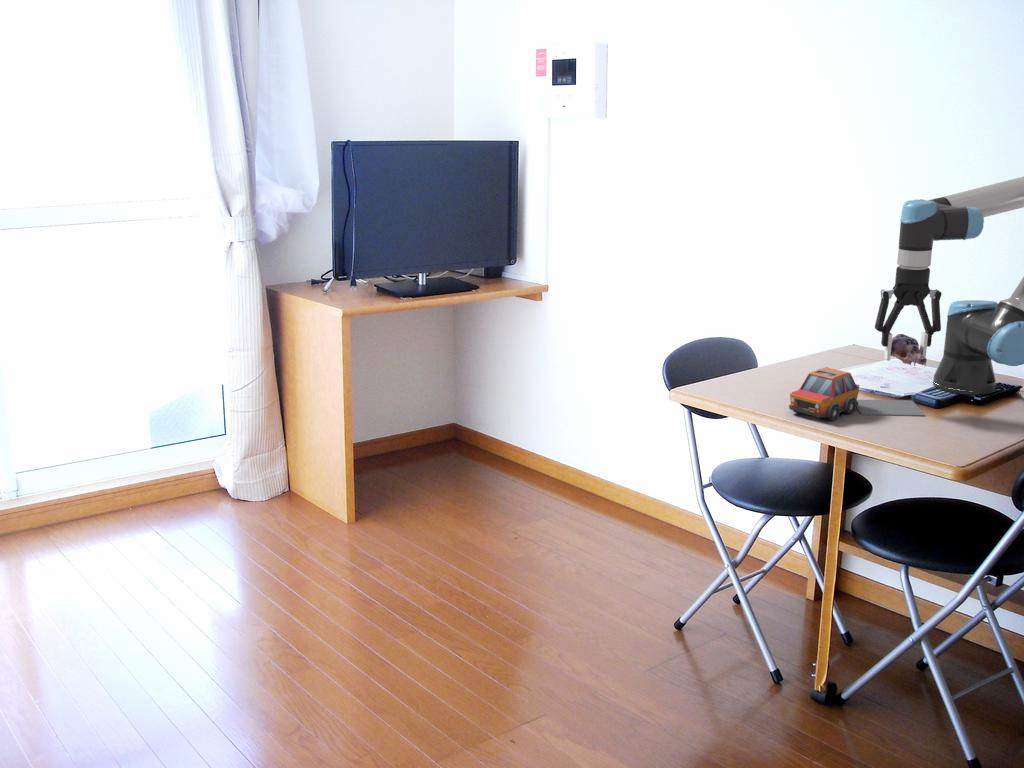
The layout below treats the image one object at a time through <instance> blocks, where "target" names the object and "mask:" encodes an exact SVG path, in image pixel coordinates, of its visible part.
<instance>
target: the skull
mask: <svg viewBox="0 0 1024 768" xmlns="http://www.w3.org/2000/svg"><path fill="white" fill-rule="evenodd" d="M891 357H893V358H897V359H898V360H900V361H901V362H902V364H905V365H910V366H912V364H913V366H914V367H916V364H917V365H921V366H922V367H923V366H924V367H926V366H927V360H928V359H927V357H926V358H925V357H924V356H923V355H922V354H921V351H920V343H919V342H918V340H917V339H916V338H914V337H911V336H908V335H906V334H904V333H898V334H896V335H895V336H892V346H891Z"/></svg>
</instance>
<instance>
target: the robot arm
mask: <svg viewBox="0 0 1024 768" xmlns="http://www.w3.org/2000/svg"><path fill="white" fill-rule="evenodd" d="M1022 208H1024V176H1021V177H1016V178H1012V179H1008V180H1004V181H1001V182H996V183H993V184H989V185H984V186H981V187H976V188H972V189H968V190H964V191H961V192H956V193H952V194H949V195H945V196H941V197H936V198H932V199H922V198H921V199H913V200H912V199H911V200H906V201H905V202H904V203H903V204H902V209H901V215H900V219H899V220H900V224H899V227H900V228H899V235H898V238H899V239H898V249H897V250H898V251H897V261H896V264H897V265H898V266H897V267H896V269H895V281H894V286H893V288H891V289H888V290H887V289H881V290H880V302H879V303H880V304H879V307H878V312H877V316H876V318H875V319H876V320H875V323H874V324H875V325H874V329H875V330H876V331H877V332H879V333H881V342H880V343H881V346H882V347H884V351H883V352H884V355H883V358H884V360H886V361H887V362H889V361H891V357H892V356H891V346H892V338H893V333H891V330H892V328H893V326H894V325H895V323H896V321H897V319H898V317H899V315H900V313H901V312H902V310H903V309H904V308H905V306H906V307H907V306H915V307H916V308H917V311H918V314H919V316H920V319H921V323H922V325H923V329H924V331H921V335H920V343H919V349H920V351H921V354H922V355H923V356H924V357H925V358H926V359H927V348H928V347H931V345H932V340H933V339H932V338H933V335H934V334H935V333H937V332H940V331H942V330H941V329H942V325H941V324H942V322H941V308H940V307H941V304H940V300H941V297H942V294H943V293H942V292H941V291H940V290H938V289H930V286H929V283H930V275H931V269H930V266H931V265H932V254H933V245H934V241H935V242H937V241H954V240H956V241H957V240H959V241H961V240H962V241H966V240H971V239H975V238H978V237H979V236H980V235H981V233H982V232H983V229H984V224H985V219H984V218H987V217H991V216H996V215H999V214H1002V213H1007V212H1012V211H1014V210H1018V209H1022ZM893 295H894V296H895V298H896V299H895V301H894V305H893V307H892V310H891V311H890V313H889V315H888V317H887V318H886V316H887V312H888V307H889V303H890V300H891V299H892V296H893ZM928 296H929V298H930V299H931V300H930V301H931V302H930V303H931V317H932V321H930V318H929V315H928V312H927V309H926V305H925V302H924V301H925V299H926V298H927V297H928ZM946 317H947V319H946V329H945V337H944V347H943V348H944V349H943V354H942V355H943V356H942V358H941V360H940V361H939V364H938V366H937V368H936V370H935V373H934V375H933V381H932V384H933V386H934V387H936V388H937V389H939V390H940V391H941V390H942V391H946V392H948V393H954V394H961V395H972V396H973V395H975V396H976V395H987V394H991V393H994V392H995V390H996V384H997V380H996V376H995V372H994V367H993V363H992V361H993V362H995V363H997V364H1000V365H1004V366H1005V365H1006V366H1008V367H1018V366H1021V365H1024V276H1023V277H1022V278H1021V279H1020V281H1019V283H1018V284H1017V286H1016V287H1015V289H1014V291H1013V292H1012V294H1011V295H1010V297H1008V298H1005V299H1002V300H1000V301H999V302H997V301H994V300H993V301H992V300H985V299H984V300H982V299H981V300H980V299H979V300H978V299H973V300H972V299H968V300H956V301H953V302H952V303H950V305H949V307H948V311H947V315H946ZM931 322H932V324H931ZM934 382H935V383H937V384H939V385H940V386H939V385H937V384H935V383H934ZM945 387H946V388H945ZM948 388H953V389H960V390H966V391H959V390H953V389H948ZM969 391H973V392H969Z"/></svg>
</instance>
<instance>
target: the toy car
mask: <svg viewBox="0 0 1024 768" xmlns="http://www.w3.org/2000/svg"><path fill="white" fill-rule="evenodd" d="M859 392H860V384H857V383H856V381H855V380H854V378H853V376H852V374H851V372H848V371H843V370H840V369H835V368H830V367H828V366H827V367H821V368H819V369H816V370H813V371H811V372H809V374H807V376H806V377H805V379H804V381H803V382H802V384H801V385H800V387H799V389H797V390H794V391H792V392H789V399H790V404H789V405H788V409H789V410H791V411H794V412H799V413H801V414H805V415H808V416H813V417H817V418H827V420H828V421H832V422H835V421H837V419H839V416H840V414H841V413H842V412H844V414H846V415H849V416H850V415H852V414H854V412H855V411H856V410H857V408H856V407H857V405H858V402H857V400H858V396H859Z"/></svg>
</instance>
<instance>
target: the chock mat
mask: <svg viewBox="0 0 1024 768" xmlns="http://www.w3.org/2000/svg"><path fill="white" fill-rule="evenodd" d="M857 402H858V405H857V407H856V410H857V411H858V413H860V415H861V416H889V417H890V416H892V417H893V416H895V417H897V416H898V417H926V413H924V412H923V411H922V410H921V409H920V407H918V405H917V404H916V403H915V402H914V401H913V400H909V399H908V400H906V399H905V400H904V399H903V400H901V399H900V400H899V399H897V400H896V399H894V400H893V399H857Z"/></svg>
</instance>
